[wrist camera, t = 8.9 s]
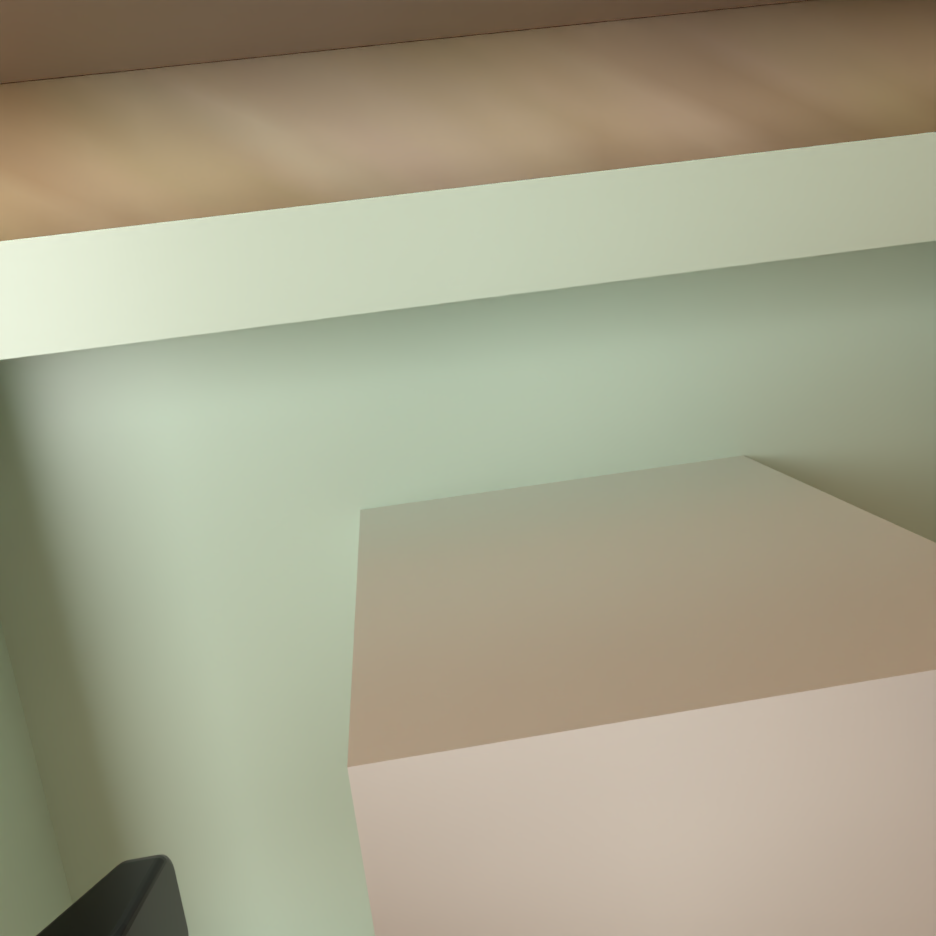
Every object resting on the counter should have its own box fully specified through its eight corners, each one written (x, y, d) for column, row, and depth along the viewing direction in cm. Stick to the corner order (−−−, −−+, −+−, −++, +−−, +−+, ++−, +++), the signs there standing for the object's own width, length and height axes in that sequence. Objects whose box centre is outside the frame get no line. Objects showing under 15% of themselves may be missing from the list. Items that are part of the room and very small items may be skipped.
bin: (1109, 134, 11) (1361, 81, 9) (1081, 913, 14) (1267, 1077, 11) (-155, 285, 10) (-366, 284, 7) (69, 1111, 13) (-19, 1356, 10)
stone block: (743, 455, 11) (1140, 636, 5) (760, 796, 12) (1107, 1251, 7) (360, 509, 11) (346, 768, 5) (412, 857, 12) (451, 1399, 6)
